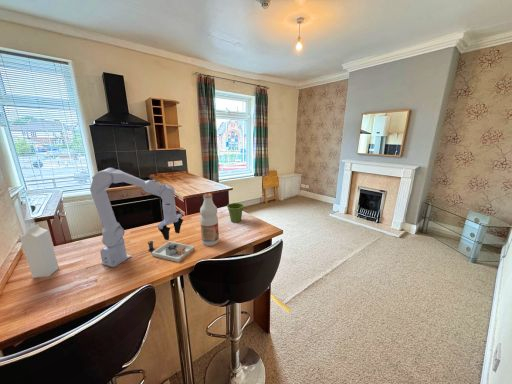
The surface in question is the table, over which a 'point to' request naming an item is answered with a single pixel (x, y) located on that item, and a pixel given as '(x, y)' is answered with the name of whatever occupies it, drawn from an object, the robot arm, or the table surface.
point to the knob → (151, 246)
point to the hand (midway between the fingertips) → (172, 236)
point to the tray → (177, 258)
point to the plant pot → (235, 211)
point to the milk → (39, 252)
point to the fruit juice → (209, 221)
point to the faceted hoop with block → (175, 250)
